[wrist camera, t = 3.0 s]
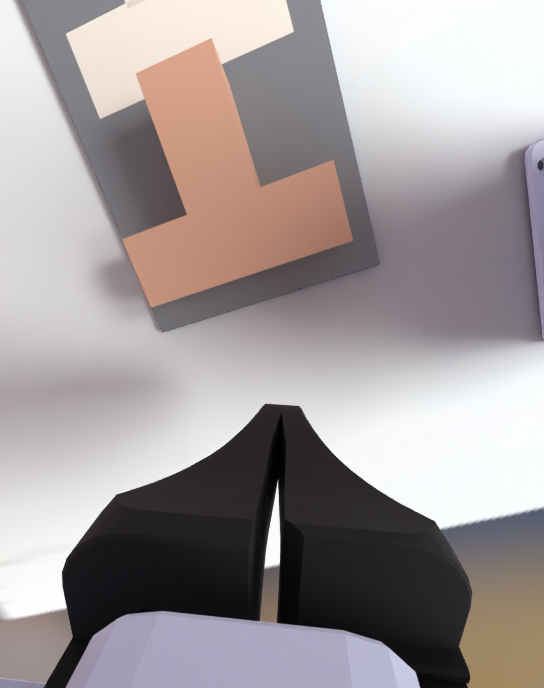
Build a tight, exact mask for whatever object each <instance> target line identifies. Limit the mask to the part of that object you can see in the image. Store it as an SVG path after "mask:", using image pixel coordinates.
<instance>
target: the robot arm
mask: <svg viewBox="0 0 544 688" xmlns="http://www.w3.org/2000/svg"><path fill="white" fill-rule="evenodd" d="M540 160H541V161H542V162H543V164H544V139H542V140H539V141H537V142H535V143H533V144H532V145H530V146H529V148H528V149H527V151H526V153H525V167H526V177H527V187H528V197H529V207H530V217H531V227H532V237H533V247H534V256H535V266H536V276H537V286H538V296H539V306H540V316H541V326H542V336H543V339H544V165H543V169H542V170H541V171H540V170H539V169H538V167H537V165H538V162H539V161H540ZM277 482H278V489H279V515H280V573H279V592H278V613H277V623H270V622H261V621H260V611H261V599H262V588H263V576H264V565H265V553H266V546H267V538H268V532H269V527H270V521H271V516H272V510H273V505H274V499H275V493H276V488H277ZM62 583H63V591H64V596H65V601H66V605H67V610H68V615H69V620H70V625H71V629H72V634H73V638H72V640H71V642H70V643H69V645H68V647H67V649H66V650H65V652H64V654H63V655H62V657H61V659H60V660H59V662H58V664H57V666H56V668H55V669H54V671H53V673H52V674H51V676H50V678H49V679H48V681H47V683H41V682H33V681H25V680H16V679H9V678H1V677H0V688H468V687H467V684H466V683H469V680H470V674H469V670H468V667H467V665H466V662H465V660H464V658H463V656H462V653H461V651H460V648H459V644H460V641H461V638H462V634H463V631H464V628H465V624H466V621H467V618H468V614H469V611H470V608H471V598H472V590H471V586H470V583H469V579H468V576H467V575H466V573H465V571H464V569H463V567H462V566H461V563H460V562H459V560H458V558H457V556H456V554H455V553H454V551H453V549H452V547H451V546H450V544H449V543H448V541H447V540H446V538H445V536H444V535H443V533H442V532H441V530H440V529H439V527H438V526H437V524H436V523H435V521H433V520H431V519H429V518H427V517H425V516H423V515H421V514H419V513H417V512H415V511H413V510H412V509H410V508H408V507H406V506H404V505H402V504H400V503H398V502H396V501H395V500H393V499H392V498H390V497H388V496H387V495H385V494H383V493H382V492H380V491H379V490H377V489H376V488H374V487H373V486H371V485H370V484H368V483H367V482H366V481H364V480H363V479H362V478H360V477H359V476H358V475H356V474H355V473H354V472H353V471H351V470H350V469H349V468H348V467H347V466H345V465H344V464H343V463H342V462H341V461H340V460H339V459H338V458H337V457H336V456H335V455H334V454H333V453H332V452H331V451H330V450H329V449H328V447H327V446H326V445H325V444H324V443H323V441H322V440H321V439H320V438H319V436H318V435H317V433H316V432H315V431H314V429H313V428H312V426H311V425H310V423H309V422H308V420H307V418H306V417H305V415H304V413H303V411H302V409H301V408H300V407H299V406H291V405H275V404H265V405H264V406H263V407H262V408H261V409H260V410H259V412H258V413H257V414H256V415H255V417H254V418H253V419H252V420H251V421H250V422H249V423H248V424H247V425H246V426H245V427H244V428H243V429H242V430H241V431H240V432H239V433H238V434H237V435H236V436H235V437H233V438H232V439H231V440H230V441H229V442H228V443H227V444H225V445H224V446H223V447H221V448H220V449H219V450H217V451H216V452H214V453H213V454H211V455H210V456H208V457H206V458H204V459H203V460H201V461H199V462H197V463H195V464H194V465H192V466H190V467H188V468H186V469H184V470H182V471H180V472H178V473H176V474H173V475H171V476H169V477H166V478H164V479H162V480H159V481H156V482H154V483H151V484H148V485H145V486H142V487H139V488H136V489H133V490H130V491H127V492H124V493H121V494H117V495H116V496H115V497H114V498H113V499H112V501H111V502H110V503H109V504H108V505H107V506H106V507H105V509H104V510H103V511H102V512H101V513H100V515H99V516H98V517H97V519H96V520H95V521H94V523H93V524H92V525H91V527H90V528H89V529H88V531H87V532H86V533H85V535H84V536H83V537H82V539H81V540H80V541H79V543H78V544H77V545H76V547H75V548H74V549H73V551H72V552H71V553H70V555H69V556H68V557H67V559H66V562H65V565H64V568H63V571H62Z"/></svg>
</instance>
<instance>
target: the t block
mask: <svg viewBox="0 0 544 688" xmlns="http://www.w3.org/2000/svg"><path fill="white" fill-rule="evenodd" d="M135 74H136V76H137V79H138V82H139V85H140V87H141V90H142V93H143V96H144V98H145V101H146V104H147V107H148V109H149V112H150V115H151V117H152V120H153V123H154V126H155V128H156V131H157V134H158V137H159V139H160V142H161V145H162V148H163V150H164V153H165V156H166V158H167V161H168V164H169V167H170V169H171V172H172V175H173V178H174V180H175V183H176V186H177V189H178V191H179V194H180V197H181V200H182V202H183V205H184V208H185V210H186V213H187V215H185V216H183V217H180V218H177V219H175V220H172V221H169V222H167V223H164V224H161V225H159V226H156V227H153V228H151V229H148V230H145V231H143V232H140V233H137V234H135V235H132V236H129V237H127V238H124V239H122V241H123V243H124V246H125V248H126V250H127V253H128V255H129V258H130V260H131V262H132V265H133V267H134V269H135V272H136V274H137V276H138V279H139V281H140V283H141V286H142V288H143V291H144V293H145V295H146V298H147V300H148V302H149V305H150V307H151V308H152V307H155V306H158V305H161V304H164V303H167V302H170V301H173V300H176V299H179V298H182V297H185V296H188V295H191V294H194V293H197V292H200V291H203V290H206V289H209V288H212V287H215V286H218V285H221V284H224V283H227V282H230V281H233V280H236V279H239V278H242V277H245V276H248V275H251V274H254V273H257V272H260V271H263V270H266V269H269V268H272V267H275V266H278V265H281V264H284V263H287V262H290V261H293V260H296V259H299V258H302V257H306V256H309V255H312V254H315V253H318V252H321V251H324V250H327V249H330V248H333V247H336V246H339V245H342V244H345V243H348V242H351V241H353V238H352V234H351V230H350V226H349V221H348V217H347V213H346V209H345V205H344V201H343V197H342V193H341V188H340V184H339V180H338V176H337V172H336V168H335V164H334V160H332V161H329V162H326V163H324V164H321V165H318V166H316V167H313V168H310V169H308V170H305V171H302V172H300V173H297V174H294V175H292V176H289V177H286V178H284V179H281V180H278V181H276V182H273V183H270V184H268V185H265V186H262V187H260V184H259V180H258V177H257V174H256V170H255V167H254V164H253V160H252V157H251V154H250V150H249V147H248V144H247V141H246V137H245V134H244V131H243V127H242V124H241V121H240V117H239V114H238V111H237V107H236V104H235V101H234V98H233V94H232V91H231V88H230V84H229V82H228V79H227V77H226V74H225V71H224V69H223V66H222V64H221V61H220V58H219V56H218V53H217V51H216V48H215V45H214V43H213V40H212V38H210V39H208V40H206V41H204V42H202V43H200V44H197V45H195V46H193V47H191V48H189V49H187V50H185V51H183V52H180V53H178V54H176V55H174V56H172V57H170V58H168V59H165V60H163V61H161V62H159V63H157V64H155V65H153V66H150V67H148V68H146V69H144V70H142V71H140V72H138V73H135Z"/></svg>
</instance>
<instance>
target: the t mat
mask: <svg viewBox="0 0 544 688" xmlns="http://www.w3.org/2000/svg"><path fill="white" fill-rule="evenodd" d="M22 3H23V5H24V7H25V10H26V12H27V14H28V17H29V19H30V21H31V24H32V26H33V29H34V31H35V33H36V36H37V38H38V40H39V43H40V45H41V47H42V50H43V52H44V55H45V57H46V59H47V62H48V64H49V66H50V69H51V71H52V73H53V76H54V78H55V80H56V83H57V85H58V88H59V90H60V92H61V95H62V97H63V99H64V102H65V104H66V106H67V109H68V111H69V114H70V116H71V118H72V121H73V123H74V125H75V128H76V130H77V132H78V135H79V137H80V140H81V142H82V144H83V147H84V149H85V151H86V154H87V156H88V158H89V161H90V163H91V166H92V168H93V170H94V173H95V175H96V177H97V180H98V182H99V184H100V187H101V189H102V192H103V194H104V196H105V199H106V201H107V203H108V206H109V208H110V210H111V213H112V215H113V218H114V220H115V222H116V225H117V227H118V229H119V232H120V234H121V236H122V239H124V238H127V237H129V236H132V235H135V234H137V233H140V232H143V231H145V230H148V229H151V228H153V227H156V226H159V225H161V224H164V223H167V222H169V221H172V220H175V219H177V218H180V217H183V216H185V215H187V213H186V210H185V208H184V205H183V202H182V200H181V197H180V194H179V191H178V189H177V186H176V183H175V180H174V178H173V175H172V172H171V169H170V167H169V164H168V161H167V158H166V156H165V153H164V150H163V148H162V145H161V142H160V139H159V137H158V134H157V131H156V128H155V126H154V123H153V120H152V117H151V115H150V112H149V109H148V107H147V104H146V101H145V98H144V96H143V93H142V90H141V87H140V85H139V82H138V79H137V76H136V74H135V73H138V72H140V71H142V70H144V69H146V68H148V67H150V66H153V65H155V64H157V63H159V62H161V61H163V60H165V59H168V58H170V57H172V56H174V55H176V54H178V53H180V52H183V51H185V50H187V49H189V48H191V47H193V46H195V45H197V44H200V43H202V42H204V41H206V40H208V39H210V38H212V40H213V43H214V45H215V48H216V51H217V53H218V56H219V58H220V61H221V64H222V66H223V69H224V71H225V74H226V77H227V79H228V82H229V84H230V88H231V91H232V94H233V98H234V101H235V104H236V107H237V111H238V114H239V117H240V121H241V124H242V127H243V131H244V134H245V137H246V141H247V144H248V147H249V150H250V154H251V157H252V160H253V164H254V167H255V170H256V174H257V177H258V180H259V184H260V187H262V186H265V185H268V184H270V183H273V182H276V181H278V180H281V179H284V178H286V177H289V176H292V175H294V174H297V173H300V172H302V171H305V170H308V169H310V168H313V167H316V166H318V165H321V164H324V163H326V162H329V161H332V160H334V164H335V168H336V172H337V176H338V180H339V184H340V188H341V193H342V197H343V201H344V205H345V209H346V213H347V217H348V221H349V226H350V230H351V234H352V238H353V241H351V242H348V243H345V244H342V245H339V246H336V247H333V248H330V249H327V250H324V251H321V252H318V253H315V254H312V255H309V256H306V257H302V258H299V259H296V260H293V261H290V262H287V263H284V264H281V265H278V266H275V267H272V268H269V269H266V270H263V271H260V272H257V273H254V274H251V275H248V276H245V277H242V278H239V279H236V280H233V281H230V282H227V283H224V284H221V285H218V286H215V287H212V288H209V289H206V290H203V291H200V292H197V293H194V294H191V295H188V296H185V297H182V298H179V299H176V300H173V301H170V302H167V303H164V304H161V305H158V306H155V307H152V310H153V312H154V314H155V317H156V319H157V321H158V324H159V326H160V329H161V331H162V333H163V332H166V331H169V330H172V329H175V328H179V327H182V326H185V325H188V324H191V323H194V322H198V321H201V320H204V319H207V318H210V317H214V316H217V315H220V314H223V313H226V312H229V311H233V310H236V309H239V308H242V307H245V306H248V305H252V304H255V303H258V302H261V301H264V300H267V299H271V298H274V297H277V296H280V295H283V294H286V293H290V292H293V291H296V290H299V289H302V288H306V287H309V286H312V285H315V284H318V283H321V282H325V281H328V280H331V279H334V278H337V277H340V276H344V275H347V274H350V273H353V272H356V271H359V270H363V269H366V268H369V267H372V266H375V265H378V264H380V263H379V259H378V254H377V250H376V246H375V241H374V237H373V232H372V228H371V223H370V219H369V214H368V210H367V206H366V201H365V197H364V192H363V188H362V183H361V179H360V175H359V170H358V166H357V161H356V157H355V152H354V148H353V144H352V139H351V135H350V130H349V126H348V121H347V117H346V113H345V108H344V104H343V99H342V95H341V90H340V86H339V81H338V77H337V73H336V68H335V64H334V59H333V55H332V50H331V46H330V42H329V37H328V33H327V28H326V24H325V19H324V15H323V11H322V6H321V2H320V0H22Z"/></svg>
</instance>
